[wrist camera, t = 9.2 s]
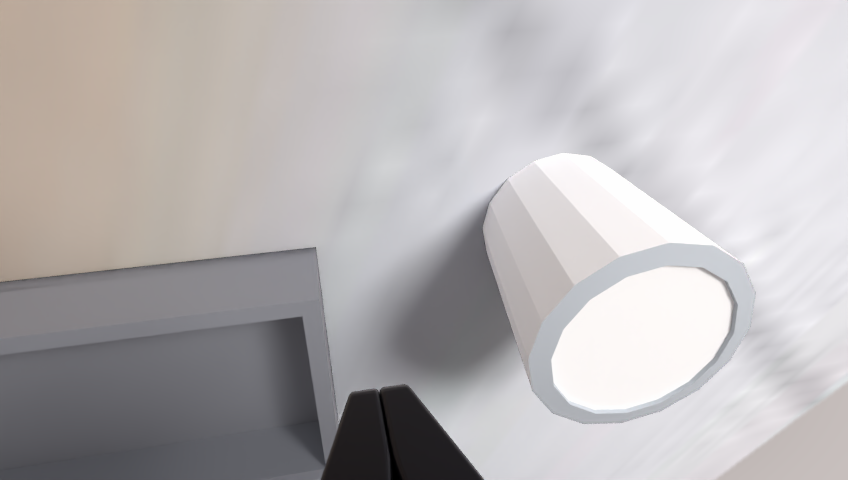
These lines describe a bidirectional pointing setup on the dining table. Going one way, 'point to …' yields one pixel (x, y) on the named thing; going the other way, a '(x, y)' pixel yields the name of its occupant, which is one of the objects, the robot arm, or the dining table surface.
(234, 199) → the dining table surface
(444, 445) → the robot arm
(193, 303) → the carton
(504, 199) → the shot glass
